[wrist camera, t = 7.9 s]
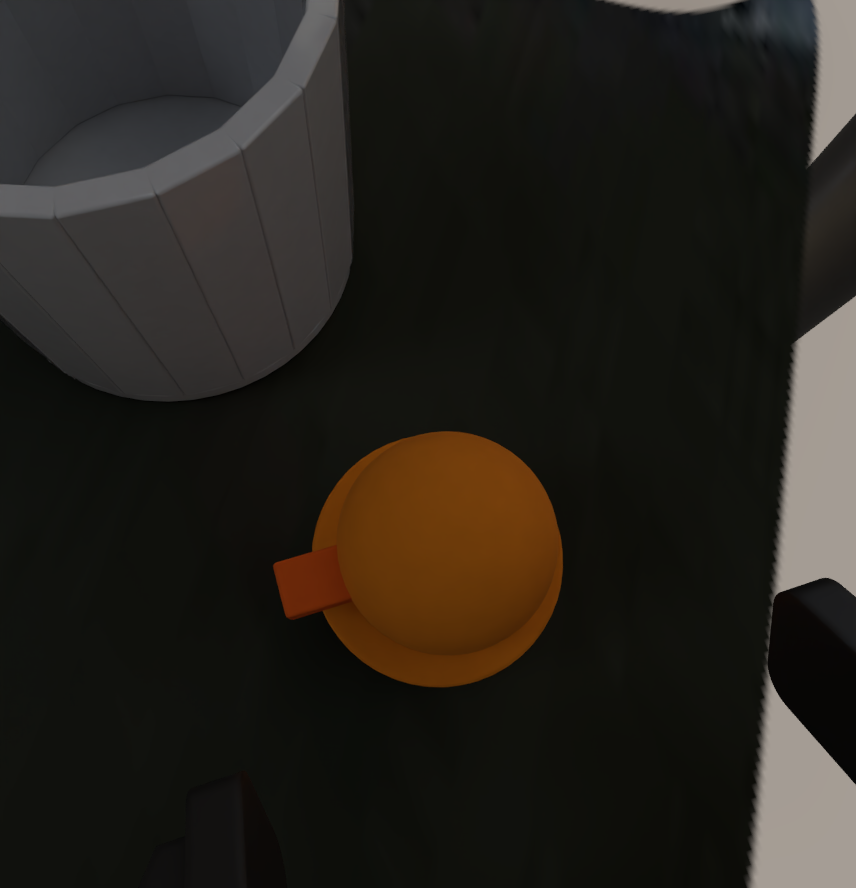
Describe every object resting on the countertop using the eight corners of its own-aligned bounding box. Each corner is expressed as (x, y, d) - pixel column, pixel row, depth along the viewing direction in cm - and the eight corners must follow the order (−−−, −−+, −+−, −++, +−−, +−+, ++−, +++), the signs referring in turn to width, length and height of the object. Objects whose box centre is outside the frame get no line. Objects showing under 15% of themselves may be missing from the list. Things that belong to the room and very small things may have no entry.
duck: (487, 458, 21) (557, 333, 13) (550, 644, 19) (672, 635, 11) (284, 516, 20) (223, 421, 12) (337, 714, 19) (308, 757, 11)
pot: (304, 64, 24) (264, -273, 15) (395, 349, 21) (409, 140, 13) (-28, 130, 22) (-281, -202, 14) (28, 445, 20) (-239, 281, 11)
